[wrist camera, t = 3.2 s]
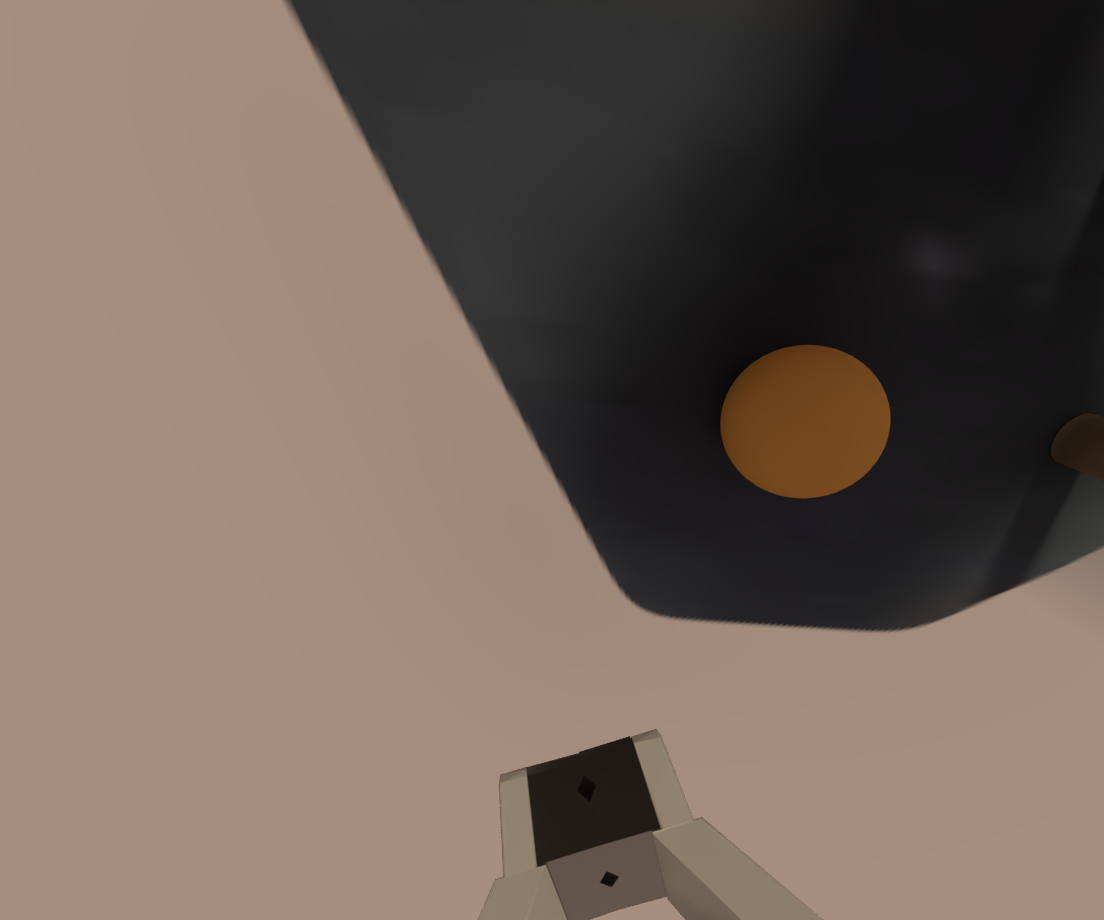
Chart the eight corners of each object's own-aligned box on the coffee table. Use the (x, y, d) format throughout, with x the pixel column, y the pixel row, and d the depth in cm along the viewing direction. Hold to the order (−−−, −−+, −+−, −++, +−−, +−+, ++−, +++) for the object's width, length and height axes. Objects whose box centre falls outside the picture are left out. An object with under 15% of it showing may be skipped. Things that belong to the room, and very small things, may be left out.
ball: (690, 351, 20) (764, 393, 15) (825, 316, 20) (941, 345, 15) (703, 474, 22) (770, 545, 17) (823, 441, 23) (924, 502, 18)
